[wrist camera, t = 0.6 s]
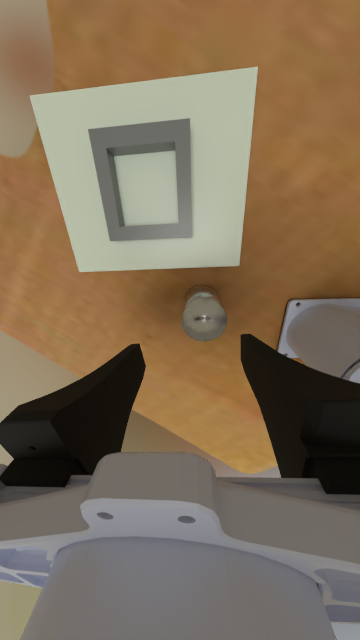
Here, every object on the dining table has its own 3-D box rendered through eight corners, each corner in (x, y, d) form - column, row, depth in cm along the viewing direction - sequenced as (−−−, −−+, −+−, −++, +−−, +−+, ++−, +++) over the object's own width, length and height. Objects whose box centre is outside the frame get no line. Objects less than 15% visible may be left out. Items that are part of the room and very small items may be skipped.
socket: (255, 72, 13) (265, 45, 11) (238, 265, 19) (242, 267, 17) (34, 100, 14) (12, 80, 13) (81, 271, 20) (70, 274, 18)
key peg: (218, 283, 20) (228, 300, 14) (217, 315, 22) (225, 340, 16) (184, 284, 20) (181, 301, 15) (185, 316, 22) (182, 341, 16)
